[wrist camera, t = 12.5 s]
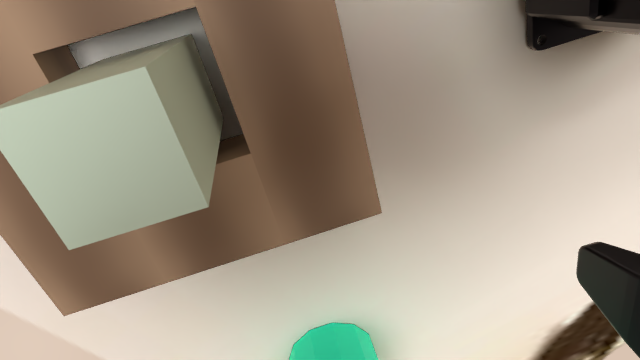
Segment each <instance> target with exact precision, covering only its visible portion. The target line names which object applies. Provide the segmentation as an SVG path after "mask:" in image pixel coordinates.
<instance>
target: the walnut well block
mask: <svg viewBox="0 0 640 360" xmlns="http://www.w3.org/2000/svg"><path fill="white" fill-rule="evenodd" d="M194 7H196V9H197V11H198V14H199V17H200V19H201V22H202V25H203V27H204V30H205V33H206V35H207V38H208V41H209V43H210V46H211V49H212V51H213V54H214V57H215V59H216V62H217V65H218V67H219V70H220V73H221V75H222V78H223V81H224V83H225V86H226V89H227V91H228V94H229V97H230V99H231V102H232V105H233V107H234V110H235V113H236V115H237V118H238V121H239V123H240V126H241V129H242V131H243V134H242V135H239V136H236V137H232V138H229V139H226V140H223V141H220V143H219V149H218V155H217V161H216V166H215V172H214V178H213V184H212V190H211V196H210V202H209V207H207V208H204V209H201V210H197V211H194V212H191V213H188V214H185V215H181V216H178V217H175V218H172V219H168V220H165V221H162V222H159V223H156V224H152V225H149V226H146V227H143V228H139V229H136V230H133V231H130V232H126V233H123V234H120V235H117V236H114V237H110V238H107V239H104V240H101V241H97V242H94V243H91V244H88V245H84V246H81V247H78V248H75V249H72V250H68V248H67V247H66V245H65V244H64V242H63V241H62V239H61V238H60V236H59V235H58V234H57V232H56V231H55V229H54V228H53V226H52V225H51V223H50V222H49V220H48V219H47V218H46V216H45V215H44V213H43V212H42V210H41V209H40V207H39V206H38V204H37V203H36V202H35V200H34V199H33V197H32V196H31V194H30V193H29V191H28V190H27V188H26V187H25V185H24V184H23V183H22V181H21V180H20V178H19V177H18V175H17V174H16V172H15V171H14V169H13V168H12V167H11V165H10V164H9V162H8V161H7V159H6V158H5V156H4V155H3V153H2V152H1V151H0V235H1V236H2V237H3V239H4V240H5V241H6V243H7V244H8V245H9V246H10V248H11V249H12V250H13V252H14V253H15V254H16V255H17V257H18V258H19V259H20V260H21V262H22V263H23V264H24V266H25V267H26V268H27V269H28V271H29V272H30V273H31V275H32V276H33V277H34V278H35V280H36V281H37V282H38V284H39V285H40V286H41V287H42V289H43V290H44V291H45V292H46V294H47V295H48V296H49V298H50V299H51V300H52V301H53V303H54V304H55V305H56V307H57V308H58V309H59V310H60V312H61V313H62V314H63V316H66V315H69V314H72V313H75V312H78V311H81V310H84V309H88V308H91V307H94V306H97V305H100V304H103V303H106V302H109V301H112V300H115V299H118V298H121V297H125V296H128V295H131V294H134V293H137V292H140V291H143V290H146V289H149V288H152V287H155V286H158V285H162V284H165V283H168V282H171V281H174V280H177V279H180V278H183V277H186V276H189V275H192V274H195V273H199V272H202V271H205V270H208V269H211V268H214V267H217V266H220V265H223V264H226V263H229V262H232V261H236V260H239V259H242V258H245V257H248V256H251V255H254V254H257V253H260V252H263V251H266V250H269V249H273V248H276V247H279V246H282V245H285V244H288V243H291V242H294V241H297V240H300V239H303V238H306V237H310V236H313V235H316V234H319V233H322V232H325V231H328V230H331V229H334V228H337V227H340V226H343V225H347V224H350V223H353V222H356V221H359V220H362V219H365V218H368V217H371V216H374V215H377V214H380V213H382V212H381V207H380V203H379V198H378V194H377V189H376V185H375V180H374V176H373V171H372V167H371V162H370V158H369V153H368V149H367V144H366V140H365V135H364V131H363V126H362V122H361V117H360V113H359V108H358V104H357V99H356V95H355V90H354V86H353V81H352V77H351V72H350V68H349V63H348V59H347V54H346V50H345V45H344V41H343V36H342V32H341V27H340V23H339V18H338V14H337V9H336V5H335V0H0V105H1V104H4V103H6V102H8V101H10V100H13V99H15V98H17V97H19V96H22V95H24V94H26V93H28V92H31V91H33V90H35V89H37V88H40V87H42V86H44V85H46V84H49V83H51V82H53V81H55V80H58V79H60V78H62V77H64V76H67V75H69V74H71V73H73V72H76V71H78V70H80V69H79V67H78V65H77V63H76V61H75V60H74V58H73V56H72V54H71V52H70V50H69V48H68V47H67V45H69V44H72V43H75V42H79V41H82V40H86V39H89V38H92V37H96V36H99V35H103V34H106V33H109V32H113V31H116V30H120V29H123V28H126V27H130V26H133V25H137V24H140V23H143V22H147V21H150V20H154V19H157V18H160V17H164V16H167V15H171V14H174V13H177V12H181V11H184V10H187V9H191V8H194Z"/></svg>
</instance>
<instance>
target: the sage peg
mask: <svg viewBox="0 0 640 360" xmlns="http://www.w3.org/2000/svg"><path fill="white" fill-rule="evenodd" d="M223 119H224V118H223V115H222V113H221V110H220V107H219V105H218V102H217V100H216V97H215V94H214V92H213V89H212V87H211V84H210V81H209V79H208V76H207V73H206V71H205V68H204V66H203V63H202V60H201V58H200V55H199V53H198V50H197V47H196V45H195V42H194V40H193V37H192V34H189V35H186V36H182V37H179V38H175V39H172V40H168V41H165V42H162V43H158V44H155V45H151V46H148V47H144V48H141V49H137V50H134V51H130V52H127V53H123V54H120V55H116V56H113V57H110V58H106V59H103V60H100V61H98V62H96V63H94V64H91V65H89V66H87V67H85V68H82V69H80V70H78V71H76V72H73V73H71V74H69V75H67V76H64V77H62V78H60V79H58V80H55V81H53V82H51V83H49V84H46V85H44V86H42V87H40V88H37V89H35V90H33V91H31V92H28V93H26V94H24V95H22V96H19V97H17V98H15V99H13V100H10V101H8V102H6V103H4V104H1V105H0V151H1V152H2V153H3V155H4V156H5V158H6V159H7V161H8V162H9V164H10V165H11V167H12V168H13V169H14V171H15V172H16V174H17V175H18V177H19V178H20V180H21V181H22V183H23V184H24V185H25V187H26V188H27V190H28V191H29V193H30V194H31V196H32V197H33V199H34V200H35V202H36V203H37V204H38V206H39V207H40V209H41V210H42V212H43V213H44V215H45V216H46V218H47V219H48V220H49V222H50V223H51V225H52V226H53V228H54V229H55V231H56V232H57V234H58V235H59V236H60V238H61V239H62V241H63V242H64V244H65V245H66V247H67V248H68V250H72V249H75V248H78V247H81V246H84V245H88V244H91V243H94V242H97V241H101V240H104V239H107V238H110V237H114V236H117V235H120V234H123V233H126V232H130V231H133V230H136V229H139V228H143V227H146V226H149V225H152V224H156V223H159V222H162V221H165V220H168V219H172V218H175V217H178V216H181V215H185V214H188V213H191V212H194V211H197V210H201V209H204V208H207V207H209V202H210V196H211V190H212V184H213V178H214V172H215V166H216V161H217V155H218V149H219V143H220V137H221V131H222V125H223Z"/></svg>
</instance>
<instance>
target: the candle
mask: <svg viewBox="0 0 640 360" xmlns="http://www.w3.org/2000/svg"><path fill="white" fill-rule="evenodd" d="M289 360H378V358H377V355H376V352H375V350H374V347H373V344H372V342H371V339H370V336H369V334H368V333H366V332H365V331H363V330H362V329H360V328H359V327H357V326H356V325H354V324H343V323H330V324H327V325H324V326H321V327H318V328H315V329H312V330H309V331H308V332H307V333H306V334H305V335H304V336H303V337H302V338H301V339H300V340H298V341H297V342H296V343H295V344H294V345H293V348H292V352H291V355H290V358H289Z"/></svg>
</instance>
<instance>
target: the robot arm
mask: <svg viewBox="0 0 640 360" xmlns="http://www.w3.org/2000/svg"><path fill="white" fill-rule="evenodd" d="M526 13H527V42H528V46H529V47H530V48H531V49H533V50H544V49H547V48H550V47H554V46H557V45H560V44H563V43H567V42H570V41H573V40H576V39H579V38H583V37H586V36H589V35H592V34H595V33H599V32H602V31H608V32H618V33H629V34H639V35H640V0H526ZM539 36H541V41H540V42H539V43H537V40H538V38H539ZM576 274H577V278H578V281H579V283H580V284H581V286H582V287H583V288H584V289H585V291H586V292H587V293H588V295H589V296H590V297H591V299H592V300H593V301H594V302H595V304H596V305H597V306H598V308H599V309H600V310H601V312H602V313H603V314H604V315H605V317H606V318H607V319H608V321H609V322H610V323H611V325H612V326H613V327H614V328H615V330H616V331H617V332H618V334H619V335H620V336H621V337H622V338H623V340H624V341H625V342H626V343H627V344H628V345H629V347H630V348H631V349H632V350H633V351H634V352H635V353H636V354H637V356H638V357H639V358H640V254H638V253H635V252H632V251H628V250H625V249H622V248H619V247H616V246H612V245H609V244H606V243H602V242H594V243H591V244H588V245H584V246H582V247H581V248H580V249H579V252H578V262H577V272H576Z"/></svg>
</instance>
